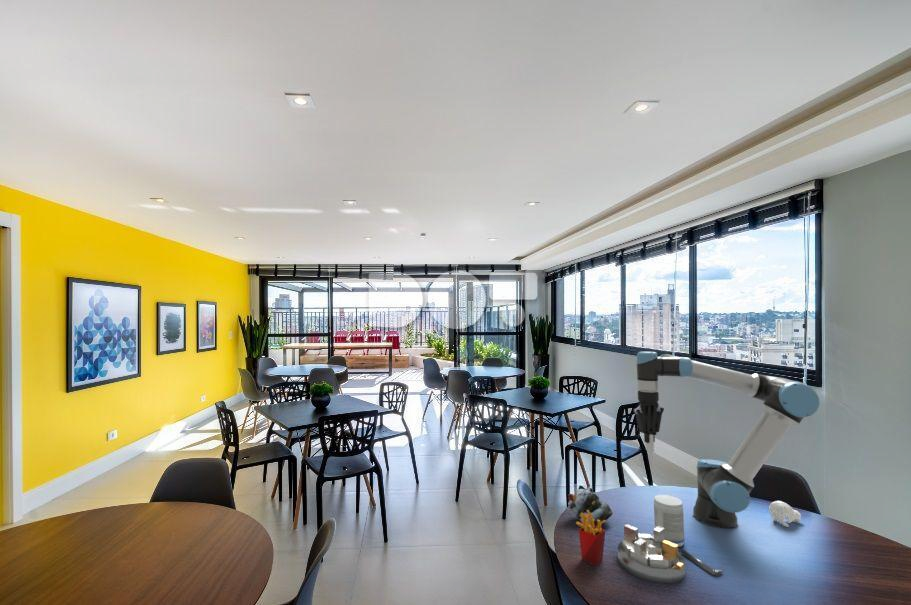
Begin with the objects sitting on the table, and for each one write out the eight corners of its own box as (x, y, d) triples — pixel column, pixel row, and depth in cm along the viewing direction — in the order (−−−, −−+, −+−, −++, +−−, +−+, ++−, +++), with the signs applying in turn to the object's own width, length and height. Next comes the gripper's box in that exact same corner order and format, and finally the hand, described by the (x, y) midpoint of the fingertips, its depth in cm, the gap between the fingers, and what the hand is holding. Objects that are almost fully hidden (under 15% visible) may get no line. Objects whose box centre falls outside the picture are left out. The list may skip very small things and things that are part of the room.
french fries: (606, 559, 136) (606, 514, 136) (594, 570, 130) (594, 522, 130) (582, 549, 142) (581, 505, 142) (570, 558, 136) (569, 513, 137)
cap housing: (656, 544, 145) (656, 526, 146) (700, 579, 126) (699, 559, 126) (606, 549, 141) (605, 532, 142) (643, 586, 122) (642, 566, 122)
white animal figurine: (767, 498, 164) (791, 498, 166) (766, 519, 163) (790, 520, 165) (782, 505, 157) (807, 505, 160) (781, 527, 157) (806, 527, 159)
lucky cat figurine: (591, 533, 152) (573, 496, 156) (574, 532, 162) (557, 497, 166) (619, 514, 158) (601, 479, 162) (601, 513, 169) (584, 480, 173)
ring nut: (618, 539, 142) (618, 522, 143) (665, 542, 141) (665, 524, 141) (633, 566, 127) (633, 546, 127) (685, 569, 125) (685, 549, 125)
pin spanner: (681, 554, 139) (681, 549, 139) (689, 552, 140) (689, 548, 140) (713, 577, 127) (713, 572, 127) (722, 575, 128) (722, 570, 128)
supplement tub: (689, 543, 146) (688, 501, 147) (675, 551, 141) (674, 508, 141) (663, 531, 154) (662, 492, 155) (649, 538, 149) (648, 498, 150)
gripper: (654, 388, 166) (656, 446, 165) (627, 389, 163) (629, 449, 162) (668, 391, 159) (670, 452, 158) (640, 393, 156) (642, 455, 155)
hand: (649, 450), depth 160 cm, fingers closed
